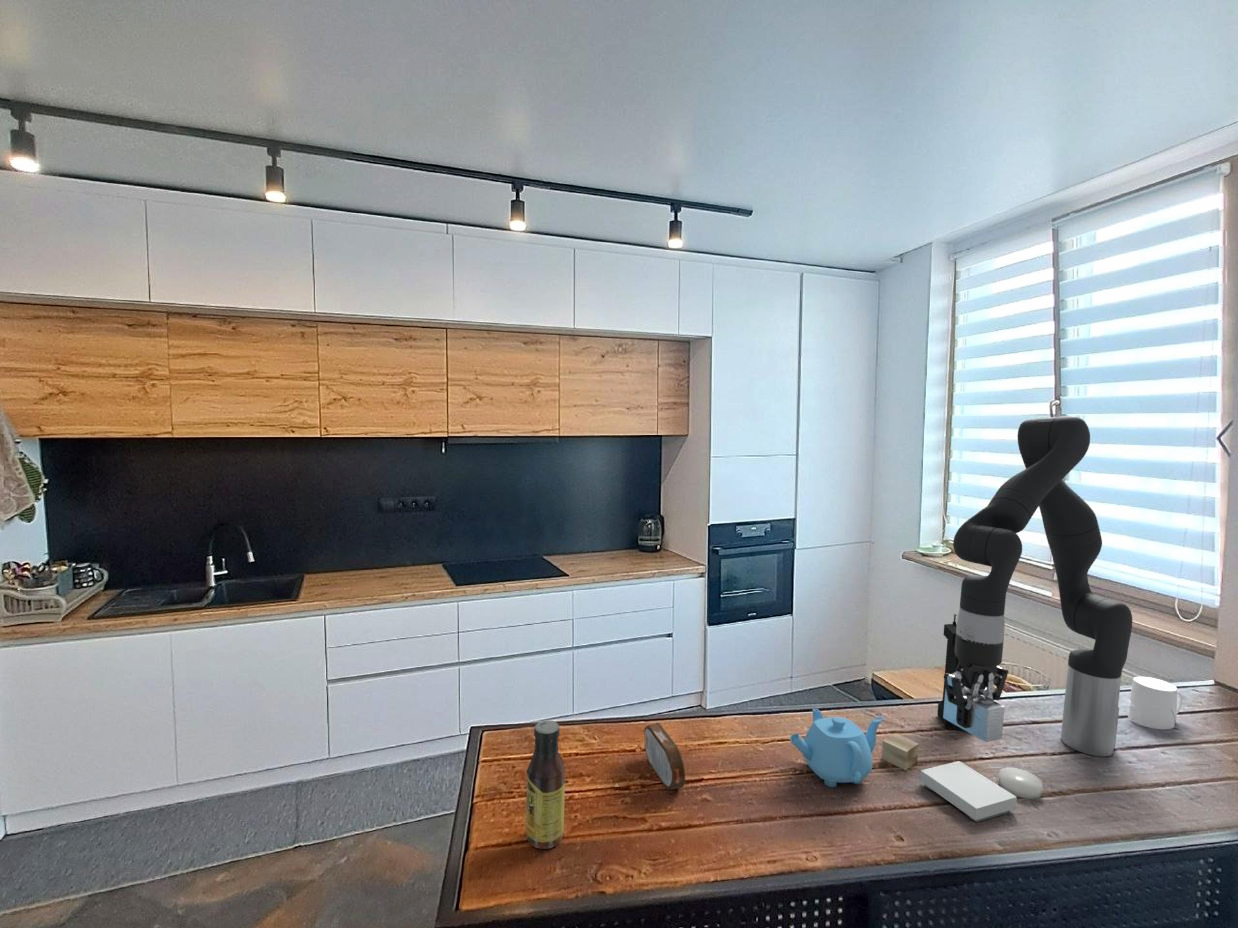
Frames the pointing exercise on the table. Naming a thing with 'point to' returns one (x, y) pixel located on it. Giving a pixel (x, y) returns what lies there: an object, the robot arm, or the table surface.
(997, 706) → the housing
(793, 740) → the teapot
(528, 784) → the sauce bottle
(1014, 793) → the glossy white pebble
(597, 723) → the table surface
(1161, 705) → the mug
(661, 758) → the tin
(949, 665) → the portable radio
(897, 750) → the oak block
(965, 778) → the stand
